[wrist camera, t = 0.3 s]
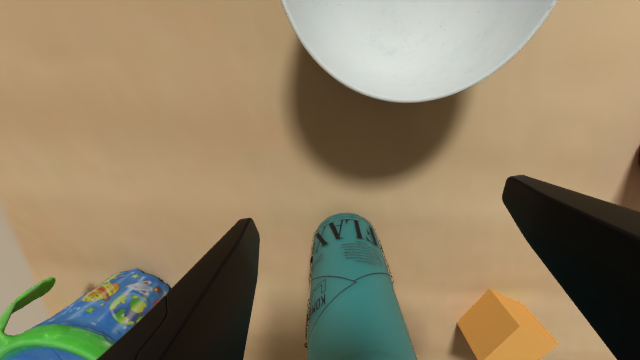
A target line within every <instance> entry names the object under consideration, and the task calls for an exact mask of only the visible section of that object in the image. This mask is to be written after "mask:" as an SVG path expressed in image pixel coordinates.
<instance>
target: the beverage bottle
mask: <svg viewBox="0 0 640 360" xmlns="http://www.w3.org/2000/svg"><path fill="white" fill-rule="evenodd" d="M375 230H376V229H375ZM314 233H315V232H314ZM376 233H377V232H376ZM376 233H375V231H374V229H373V227H372V225H371V224H370V223H369V221H368V220H365V219H364V218H363V217H361V216H359V215H356V214H352V213H339V214H335V215H333V216H330V217H329V218H327V219H326V220H324V221H323V222H322V223H321V224H320V225H319V226H318V229H317V231H316V233H315V236H314V242H313V246H312V247H313V252H312V253H313V256H312V257H311V261H310V263H312V267H311V269H312V275H311V276H310V275H309V276H310V277H311V292H310V300H309V301H310V302H309V305H310V307H308V310H309V311H307V312H309V318H308V315H307V321H309V325H306V331H307V326H308V341H307V343H306V344H305V345H307V346H305V347H306V348H307V360H417V357H416V354H415V351H414V348H413V345H412V343H411V340H410V337H409V334H408V331H407V328H406V325H405V322H404V319H403V316H402V313H401V310H400V307H399V304H398V301H397V298H396V295H395V292H394V289H393V283H392V281H391V278H390V276H391V275H389V272H388V269H387V266H386V263H385V260H384V257H383V254H382V251H381V249H382V247H381V246H382V245H381V246H380V245H379V242H378V239H377V236H378V235H377V236H376ZM312 241H313V240H312ZM380 247H381V248H380ZM311 249H312V248H311ZM384 255H385V254H384ZM386 261H387V260H386ZM387 265H388V264H387ZM388 266H389V265H388ZM388 268H389V267H388ZM310 271H311V270H310ZM389 271H390V269H389ZM310 274H311V273H310ZM390 274H391V273H390ZM310 277H309V281H310ZM391 277H392V276H391ZM392 278H393V277H392ZM393 281H394V280H393ZM309 287H310V286H309ZM307 306H308V304H307ZM309 308H310V309H309ZM306 324H307V322H306ZM305 334H306V332H305ZM305 337H307V334H306V335H305Z"/></svg>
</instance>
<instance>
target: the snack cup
mask: <svg viewBox="0 0 640 360" xmlns="http://www.w3.org/2000/svg"><path fill="white" fill-rule="evenodd" d="M54 283H55V278H48V279H46V280H44V281H42V282H39V283H38V284H36V285H34V286H33V287H32V288H30V289H28V290H27V291H26V292H25V293H23V294H22V295H21V296H19V297H18V298H17V299H16V300H15V301H14V302H13V303H12V304H11V305H10V306H9V307H8V308H7V309H6V310H5V312H4V313H3V314H2V316H1V317H0V360H96V359H98V358H99V357H100V356H101V355H102V354H103V353H104V352H105V351H106V350H108V349H109V348H110V347H111V346H112V345H113V344H114V343H115V342H117V341H118V340H119V339H120V338H121V337H122V336H123V335H124V334H125V333H126V332H127V331H129V330H130V329H131V328H132V327H133V326H134V325H135V324H136V323H137V322H138V321H139V320H140V319H141V318H142V317H143V316H144V315H146V314H147V313H148V312H149V311H150V310H151V309H152V308H153V307H154V306H155V305H156V304H157V303H158V302H159V301H160V300H161V299H162V298H163V297H164V296H166V294H167V293H168V292H169V287H168V285H167V284H166V283H163V282H161V281H160V280H159V279H158V278H157V277H155V276H153V275H150V274H147V273H143V272H142V271H140V270H138V269H134V270H131V271H125V272H121V273H119V274H115V275H113V276H111V277H110V278H108V279H107V280H105V281H104V282H102V283H101V284H100V285H98V286H97V287H95V288H94V289H92V290H91V291H89V292H88V293H86V294H85V295H83V296H82V297H80V298H79V299H77V300H76V301H75V302H74V303H72V304H70V305H69V306H67V307H66V308H64V309H63V310H62V311H60V312H58V313H57V314H56V315H54V316H53V317H51V318H50V319H48V320H46V321H44V322H42V323H40V324H38V325H36V326H35V327H33V328H31V329H29V330H27V331H25V332H24V333H22V334H19V335H15V336H11V335H7V334H5V333H4V329H5V327H6V325H7V323H8V320H9V318H10V316H11V314H12V313H14V312H15V311H17V310H19V309H21V308H23V307H24V306H26V305H27V304H29V303H30V302H32V301H33V300H35V299H37V298H39V297H41V296H43V295H44V294H45V293H47V292H48V291H50V289H51V288H52V287H53V285H54Z"/></svg>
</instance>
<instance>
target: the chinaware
mask: <svg viewBox="0 0 640 360" xmlns="http://www.w3.org/2000/svg"><path fill="white" fill-rule="evenodd" d="M557 1H558V0H281V2H282V5H283V8H284V10H285V13H286V15H287V17H288V20H289V22H290V24H291V26H292V28H293V30H294V32H295V33H296V35H297V37H298V38H299V40H300V42H301V43H302V45H303V46H304V48H305V49H306V50H307V52H308V53H309V54H310V56H311V57H312V58H313V59H314V60H315V61H316V62H317V64H318V65H319V66H320V67H321V68H322V69H323V70H325V71H326V72H327V73H328V74H329V75H330V76H332V77H333V78H334V79H336V80H337V81H338V82H340V83H341V84H343V85H344V86H346V87H348V88H350V89H352V90H354V91H356V92H358V93H360V94H362V95H365V96H368V97H371V98H374V99H378V100H382V101H388V102H396V103H418V102H426V101H432V100H436V99H440V98H444V97H447V96H450V95H453V94H456V93H458V92H461V91H463V90H465V89H468V88H470V87H471V86H473V85H475V84H477V83H479V82H481V81H482V80H484V79H485V78H487V77H488V76H490V75H491V74H493V73H494V72H496V71H497V70H498V69H500V68H501V67H502V66H503V65H505V64H506V63H507V62H508V61H509V60H510V59H512V58H513V57H514V56H515V55H516V54H517V53H518V52H519V51H520V50H521V49H522V48H523V47H524V46H525V45H526V44H527V42H528V41H529V40H530V39H531V38H532V37H533V36H534V34H535V33H536V32H537V31H538V29H539V28H540V27H541V25H542V24H543V23H544V21H545V20H546V18H547V17H548V15H549V14H550V12H551V11H552V9H553V8H554V6H555V4H556V3H557Z"/></svg>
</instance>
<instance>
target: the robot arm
mask: <svg viewBox="0 0 640 360" xmlns="http://www.w3.org/2000/svg"><path fill="white" fill-rule="evenodd" d="M502 200H503V203H504V204H505V206H506V208H507V209H508V211H509V213H510V214H511V216H512V218H513V219H514V221H515V223H516V224H517V226H518V228H519V229H520V231H521V233H522V234H523V236H524V237H525V239H526V240H527V242H528V243H529V245H530V246H531V247H532V249H533V250H534V251H535V252H536V254H537V255H538V256H539V258H540V259H541V260H542V262H543V263H544V264H545V266H546V267H547V268H548V270H549V271H550V272H551V273H552V275H553V276H554V277H555V279H556V280H557V281H558V283H559V284H560V285H561V287H562V288H563V289H564V291H565V292H566V293H567V294H568V296H569V297H570V298H571V300H572V301H573V302H574V304H575V305H576V306H577V308H578V309H579V310H580V312H581V313H582V314H583V315H584V317H585V318H586V319H587V321H588V322H589V323H590V325H591V326H592V327H593V329H594V330H595V331H596V332H597V334H598V335H599V336H600V338H601V339H602V340H603V342H604V343H605V344H606V346H607V347H608V348H609V350H610V351H611V352H612V353H613V355H614V356H615V357H616V359H617V360H640V212H637V211H634V210H631V209H628V208H625V207H622V206H619V205H616V204H612V203H609V202H606V201H603V200H600V199H597V198H594V197H590V196H587V195H584V194H581V193H578V192H575V191H572V190H569V189H565V188H562V187H559V186H556V185H553V184H550V183H547V182H543V181H540V180H537V179H534V178H531V177H528V176H525V175H517V176H511V177H508V178H507V180H506V183H505V187H504V191H503V194H502ZM259 243H260V236H259V233H258V230H257V228H256V226H255V223H254V221H253V219H252V218H245V219H240V220H239V221H238V222H237V223H236V224H235V225H234V226H233V227H232V228H231V229H230V230H229V231H228V232H227V233H226V234H225V235H224V236H223V237H222V238H221V239H220V240H219V241H218V242H217V243H216V244H215V245H214V246H213V247H212V248H211V249H210V250H209V251H208V252H207V253H206V254H205V255H204V256H203V257H202V258H201V259H200V260H199V261H198V262H197V263H196V264H195V265H194V266H193V267H192V268H191V269H190V270H189V271H188V272H187V273H186V274H185V275H184V276H183V278H182V279H181V280H180V281H179V282H178V283H177V284H176V285H175V286H174V287H173V288H172V289H171V290H170V291H169V292H168V293H167V294H166V296H164V297H163V298H162V299H161V300H160V301H159V302H158V303H157V304H156V305H155V306H154V307H153V308H152V309H151V310H150V311H149V312H148V313H147V314H146V315H144V316H143V317H142V318H141V319H140V320H139V321H138V322H137V323H136V324H135V325H134V326H133V327H132V328H131V329H130V330H129V331H127V332H126V333H125V334H124V335H123V336H122V337H121V338H120V339H119V340H118V341H117V342H115V343H114V344H113V345H112V346H111V347H110V348H109V349H108V350H106V351H105V352H104V353H103V354H102V355H101V356H100V357H99V358H98V359H96V360H243V357H244V351H245V345H246V340H247V334H248V328H249V323H250V317H251V311H252V306H253V300H254V294H255V289H256V283H257V275H258V260H259Z"/></svg>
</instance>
